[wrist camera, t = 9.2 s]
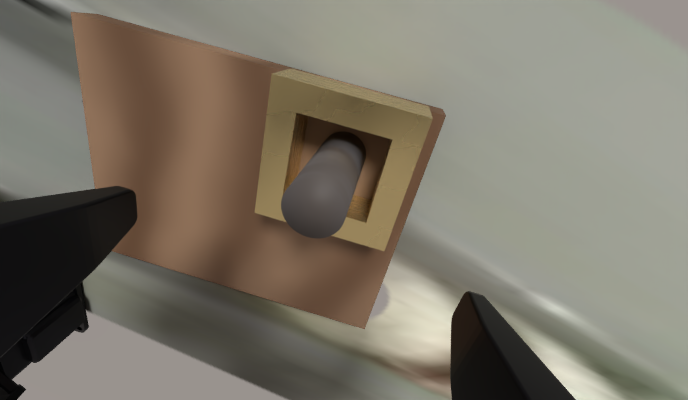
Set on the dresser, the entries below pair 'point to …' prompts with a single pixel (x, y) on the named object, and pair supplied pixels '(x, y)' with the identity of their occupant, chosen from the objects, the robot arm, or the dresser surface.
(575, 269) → the dresser surface
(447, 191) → the dresser surface
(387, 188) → the wooden square frame
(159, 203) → the keeper board
